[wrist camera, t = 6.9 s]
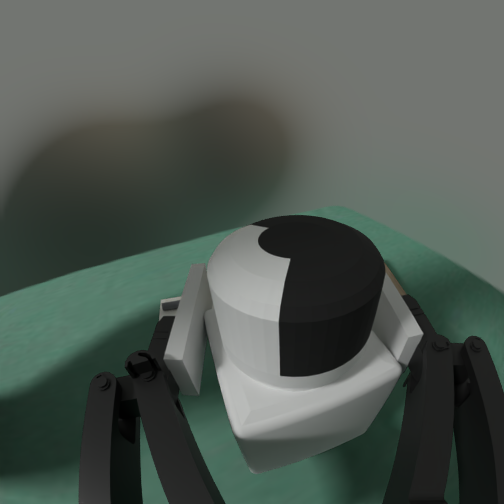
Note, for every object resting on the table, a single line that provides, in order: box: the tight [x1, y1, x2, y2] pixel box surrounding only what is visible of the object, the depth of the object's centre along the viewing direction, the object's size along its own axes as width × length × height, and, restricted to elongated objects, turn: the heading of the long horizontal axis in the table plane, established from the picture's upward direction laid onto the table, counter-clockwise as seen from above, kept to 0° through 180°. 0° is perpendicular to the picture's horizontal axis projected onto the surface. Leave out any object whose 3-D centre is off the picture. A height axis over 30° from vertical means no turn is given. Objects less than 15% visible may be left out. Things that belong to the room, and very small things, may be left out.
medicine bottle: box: [204, 215, 402, 474], centre depth 12 cm, size 7×7×12 cm
